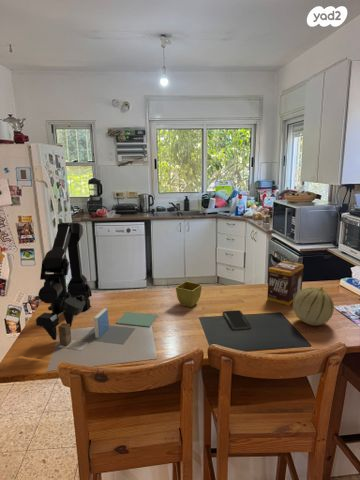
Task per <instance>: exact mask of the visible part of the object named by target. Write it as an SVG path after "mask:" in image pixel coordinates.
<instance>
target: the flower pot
mask: <svg viewBox="0 0 360 480" xmlns="http://www.w3.org/2000/svg"><path fill="white" fill-rule="evenodd" d="M202 286H203V285H202V284H200V283H197V282H196V283H195V282H191V281H184V282H182V283H181V284H179V285H177V286H176V287H175V292H176V297H177V300H178V302H179V304H181V306H184V307H188V308H192V307H193V306H195V305H196V304H197V303H198V302H199V299H200V298H201V293H202Z"/></svg>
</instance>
